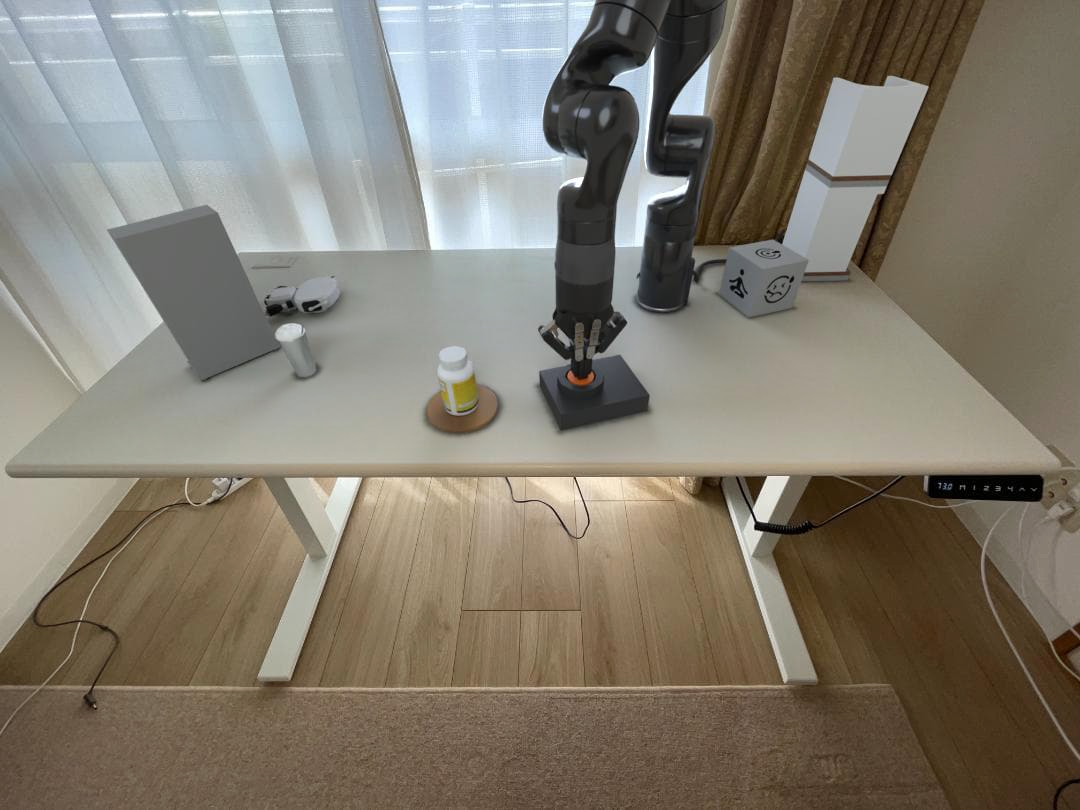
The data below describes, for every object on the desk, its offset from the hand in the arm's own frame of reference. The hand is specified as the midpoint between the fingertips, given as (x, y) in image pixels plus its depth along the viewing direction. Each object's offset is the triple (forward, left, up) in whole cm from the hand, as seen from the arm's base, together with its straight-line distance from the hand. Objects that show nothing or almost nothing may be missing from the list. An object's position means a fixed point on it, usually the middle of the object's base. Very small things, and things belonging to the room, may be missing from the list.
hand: (581, 376), depth 74 cm
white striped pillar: (-64, -26, -5) cm, 69 cm away
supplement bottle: (+18, -4, -5) cm, 19 cm away
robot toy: (+44, -46, -5) cm, 64 cm away
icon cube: (-44, -18, -5) cm, 48 cm away
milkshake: (+42, -22, -5) cm, 48 cm away
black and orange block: (-2, 0, -5) cm, 5 cm away
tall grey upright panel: (+55, -31, -5) cm, 63 cm away
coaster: (+18, -4, -5) cm, 19 cm away
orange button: (0, 0, -2) cm, 2 cm away
